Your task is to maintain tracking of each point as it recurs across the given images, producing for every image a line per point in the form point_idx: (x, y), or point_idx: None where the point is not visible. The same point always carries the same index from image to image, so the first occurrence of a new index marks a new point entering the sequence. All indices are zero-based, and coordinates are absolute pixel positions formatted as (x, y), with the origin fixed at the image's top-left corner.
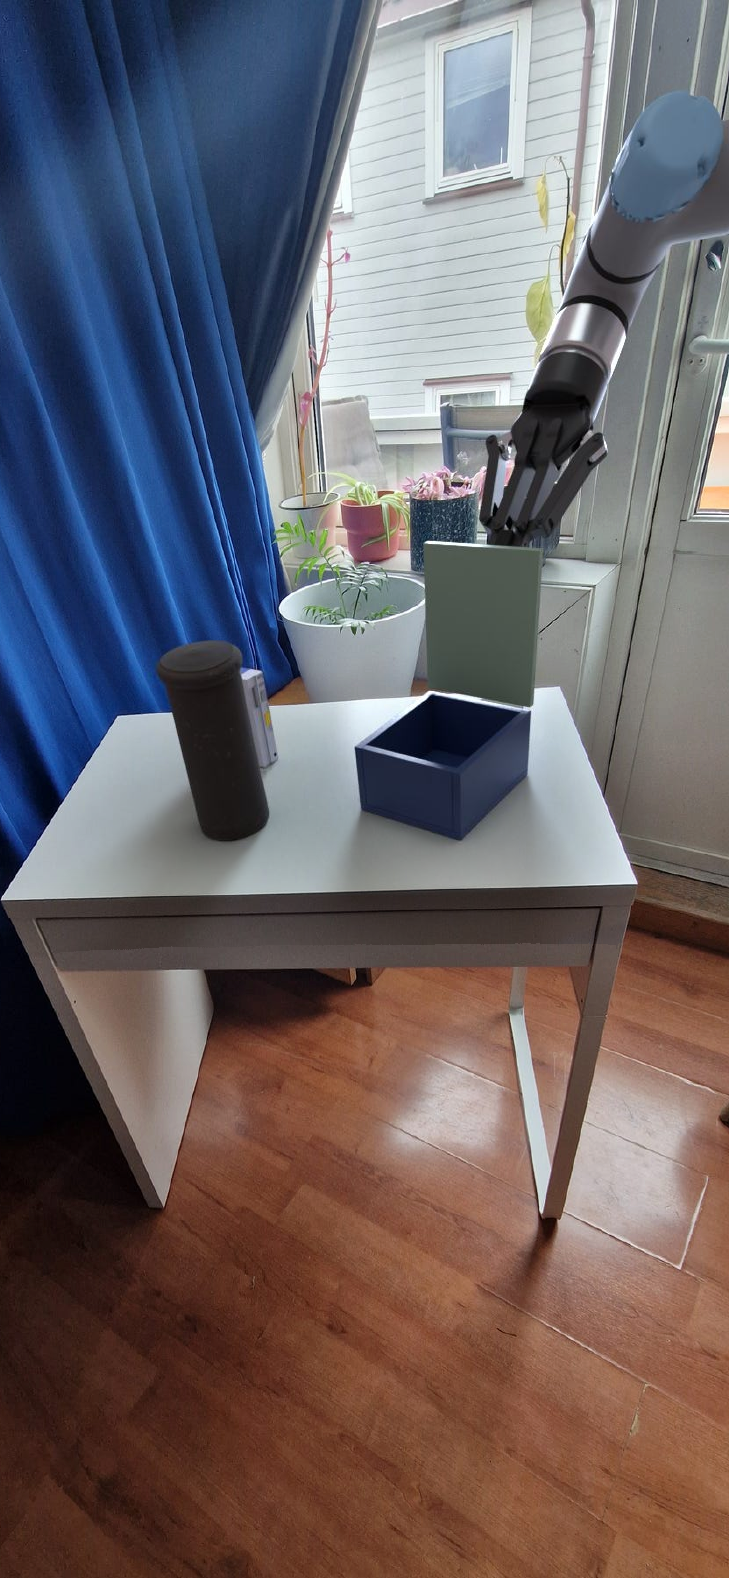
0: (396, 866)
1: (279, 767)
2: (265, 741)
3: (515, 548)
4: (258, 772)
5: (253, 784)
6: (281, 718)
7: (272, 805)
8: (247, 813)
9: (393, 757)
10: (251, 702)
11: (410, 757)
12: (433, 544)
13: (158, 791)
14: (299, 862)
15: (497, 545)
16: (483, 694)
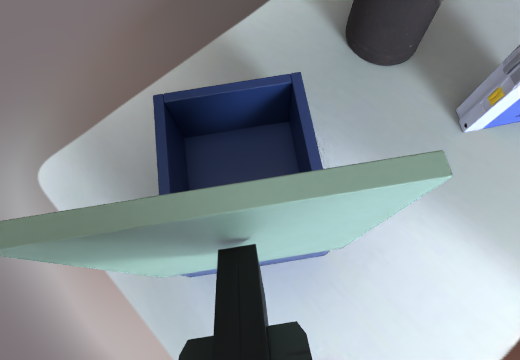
0: (202, 78)
1: (442, 121)
2: (476, 103)
3: (73, 216)
4: (369, 11)
5: (359, 4)
6: None
7: (376, 71)
8: (350, 13)
9: (243, 81)
10: (510, 55)
11: (224, 89)
12: (399, 157)
13: (497, 19)
14: (276, 34)
15: (251, 357)
16: None
